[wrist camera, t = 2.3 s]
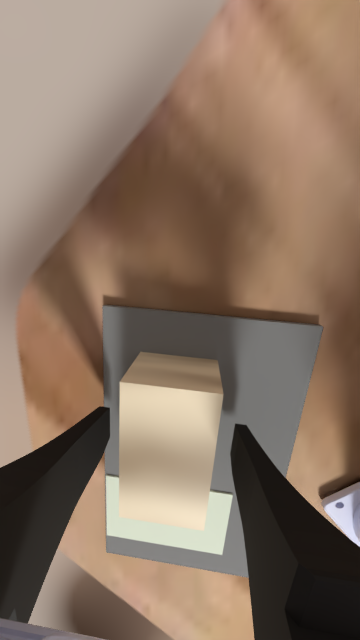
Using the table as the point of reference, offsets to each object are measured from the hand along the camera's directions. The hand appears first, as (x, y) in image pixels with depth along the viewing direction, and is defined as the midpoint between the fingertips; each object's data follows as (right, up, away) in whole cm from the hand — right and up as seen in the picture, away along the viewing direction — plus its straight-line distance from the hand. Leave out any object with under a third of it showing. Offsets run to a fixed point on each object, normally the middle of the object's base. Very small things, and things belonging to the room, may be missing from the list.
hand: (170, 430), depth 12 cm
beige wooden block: (0, 0, +1) cm, 1 cm away
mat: (+1, -3, +2) cm, 4 cm away
